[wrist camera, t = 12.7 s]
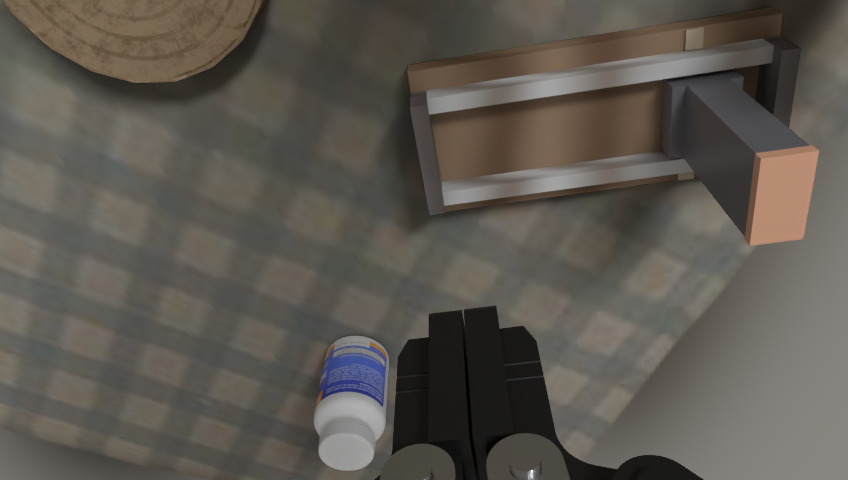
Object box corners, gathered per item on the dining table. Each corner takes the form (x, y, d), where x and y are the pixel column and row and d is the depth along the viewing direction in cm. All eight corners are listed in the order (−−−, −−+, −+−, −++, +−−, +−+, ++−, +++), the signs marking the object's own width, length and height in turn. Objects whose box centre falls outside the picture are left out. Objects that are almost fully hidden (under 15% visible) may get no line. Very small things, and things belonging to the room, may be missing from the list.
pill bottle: (317, 338, 52) (296, 432, 44) (381, 328, 52) (372, 422, 44) (335, 385, 55) (319, 482, 47) (397, 376, 55) (390, 472, 46)
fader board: (432, 202, 46) (432, 232, 42) (407, 65, 40) (405, 86, 37) (752, 158, 44) (780, 185, 40) (771, 7, 38) (804, 24, 35)
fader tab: (660, 147, 41) (733, 247, 31) (663, 76, 39) (743, 161, 29) (724, 138, 41) (819, 236, 31) (731, 66, 38) (836, 148, 29)
